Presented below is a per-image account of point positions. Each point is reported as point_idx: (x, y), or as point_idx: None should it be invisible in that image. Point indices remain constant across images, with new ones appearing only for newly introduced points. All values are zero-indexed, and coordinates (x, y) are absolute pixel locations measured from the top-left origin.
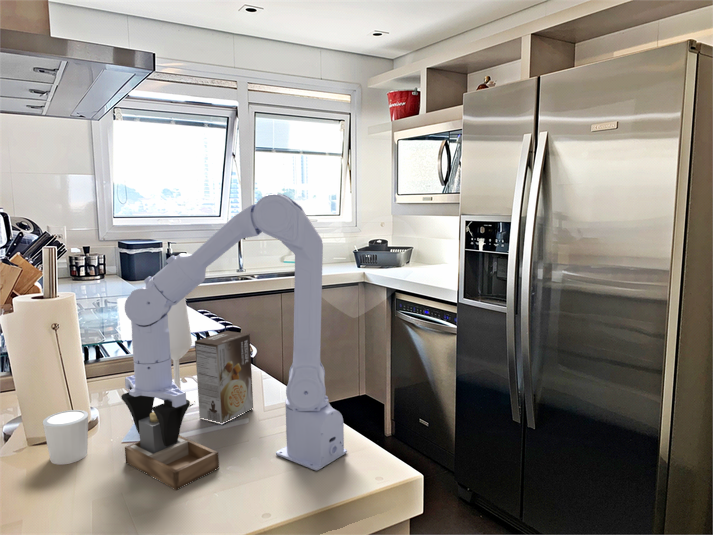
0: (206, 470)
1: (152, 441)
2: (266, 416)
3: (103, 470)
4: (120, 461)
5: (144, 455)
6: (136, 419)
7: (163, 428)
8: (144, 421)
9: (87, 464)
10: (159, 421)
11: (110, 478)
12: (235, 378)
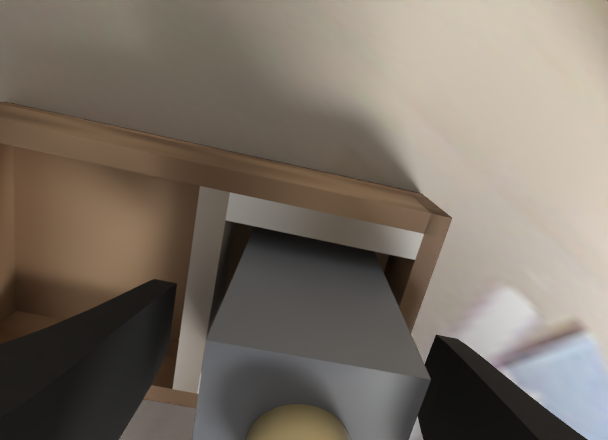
0: None
1: (249, 274)
2: None
3: (474, 93)
4: (458, 194)
5: (255, 186)
6: (495, 401)
7: (46, 334)
8: (364, 384)
9: (602, 104)
10: (35, 376)
11: (379, 48)
12: None
